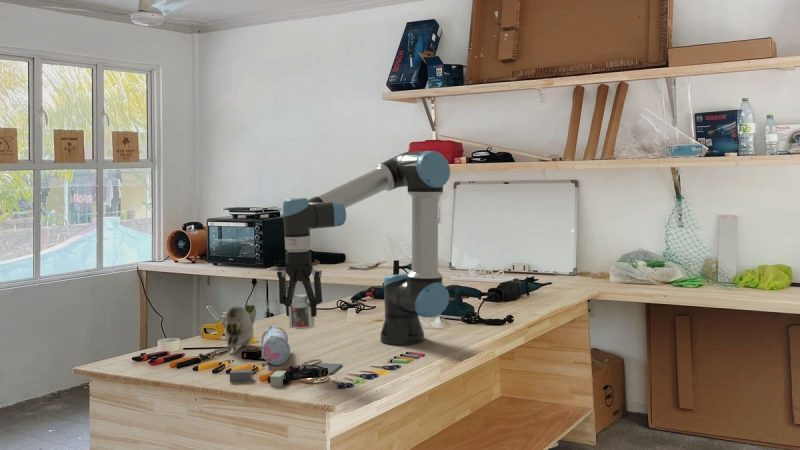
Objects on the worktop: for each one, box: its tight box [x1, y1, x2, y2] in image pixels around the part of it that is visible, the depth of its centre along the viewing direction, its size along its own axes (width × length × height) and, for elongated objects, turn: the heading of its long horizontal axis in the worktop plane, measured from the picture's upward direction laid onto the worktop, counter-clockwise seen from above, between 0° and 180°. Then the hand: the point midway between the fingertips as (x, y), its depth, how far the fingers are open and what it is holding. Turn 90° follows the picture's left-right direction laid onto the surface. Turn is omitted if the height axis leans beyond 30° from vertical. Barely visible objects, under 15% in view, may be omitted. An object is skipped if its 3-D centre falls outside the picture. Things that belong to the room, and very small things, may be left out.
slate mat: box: [318, 362, 343, 375], centre depth 244 cm, size 10×10×1 cm
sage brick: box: [269, 370, 287, 387], centre depth 230 cm, size 6×3×3 cm, turn 172°
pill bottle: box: [291, 294, 310, 330], centre depth 243 cm, size 5×5×10 cm
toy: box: [224, 304, 257, 355], centre depth 276 cm, size 8×15×20 cm
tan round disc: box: [300, 374, 330, 384], centre depth 233 cm, size 8×8×1 cm
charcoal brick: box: [229, 368, 254, 383], centre depth 234 cm, size 6×3×3 cm, turn 89°
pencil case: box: [261, 324, 291, 366], centre depth 259 cm, size 21×9×10 cm, turn 10°
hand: (302, 327), depth 243 cm, fingers closed on pill bottle, 5 cm apart
